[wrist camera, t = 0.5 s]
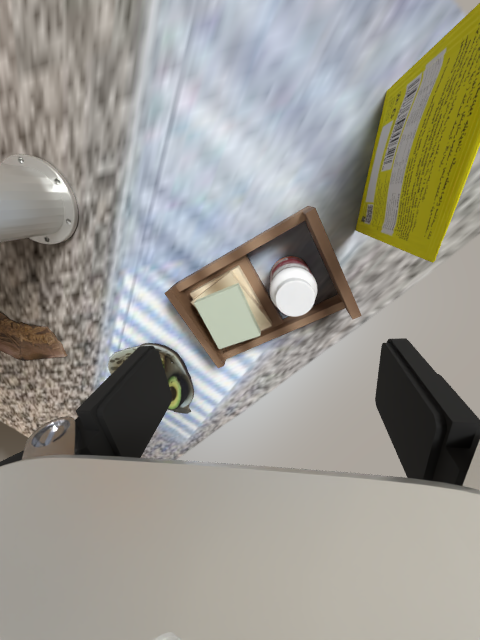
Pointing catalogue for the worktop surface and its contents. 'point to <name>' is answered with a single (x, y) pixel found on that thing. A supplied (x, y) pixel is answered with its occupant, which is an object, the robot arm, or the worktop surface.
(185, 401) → the salad plate
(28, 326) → the wooden fragment
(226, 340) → the sage painted offcut
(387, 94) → the food package
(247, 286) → the birch offcut
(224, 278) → the ash offcut
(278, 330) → the walnut rack
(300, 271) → the pill bottle
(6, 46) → the worktop surface
